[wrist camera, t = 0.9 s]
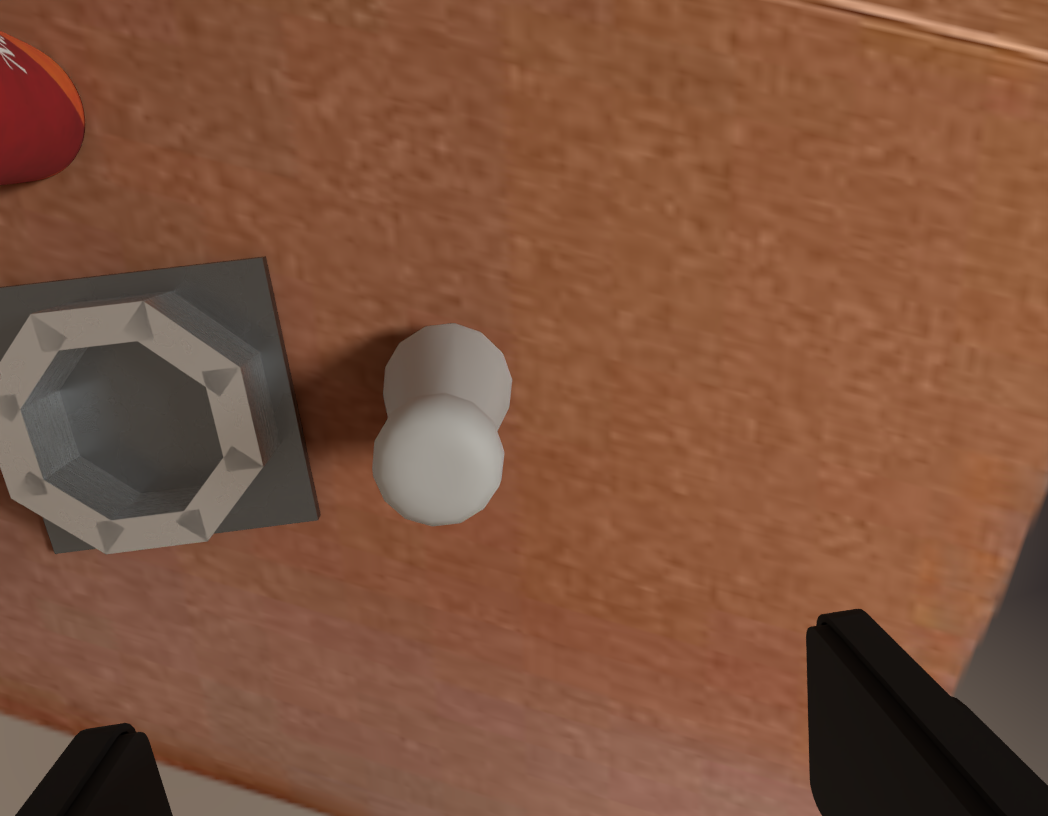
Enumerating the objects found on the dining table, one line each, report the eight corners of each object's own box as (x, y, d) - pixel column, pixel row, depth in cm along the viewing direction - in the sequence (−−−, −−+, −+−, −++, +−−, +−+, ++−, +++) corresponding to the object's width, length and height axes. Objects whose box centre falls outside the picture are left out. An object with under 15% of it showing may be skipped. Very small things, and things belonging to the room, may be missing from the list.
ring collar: (-25, 290, 32) (-85, 302, 29) (265, 256, 33) (241, 264, 29) (61, 548, 36) (18, 585, 33) (320, 514, 37) (304, 548, 33)
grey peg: (501, 435, 36) (516, 565, 24) (386, 425, 35) (339, 552, 23) (515, 320, 34) (539, 395, 22) (394, 307, 34) (348, 376, 21)
